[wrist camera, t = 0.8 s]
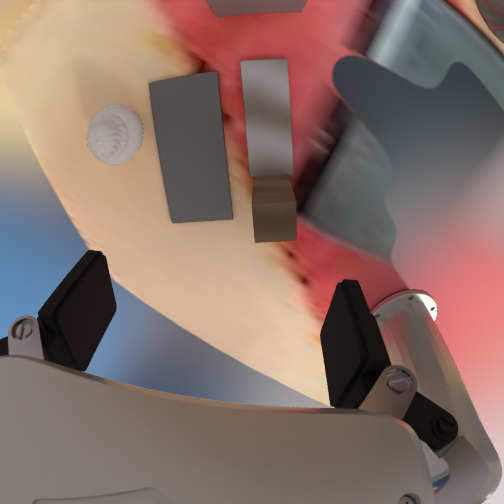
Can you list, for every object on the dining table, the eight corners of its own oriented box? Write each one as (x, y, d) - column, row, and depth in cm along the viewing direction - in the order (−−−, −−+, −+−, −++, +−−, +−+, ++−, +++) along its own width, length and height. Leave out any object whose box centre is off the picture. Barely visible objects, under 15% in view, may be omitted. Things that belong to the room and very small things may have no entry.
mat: (233, 217, 32) (232, 219, 32) (173, 221, 33) (172, 223, 33) (217, 71, 24) (216, 71, 24) (150, 83, 25) (148, 83, 24)
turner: (293, 204, 31) (301, 240, 25) (252, 206, 32) (249, 242, 25) (286, 59, 23) (295, 48, 16) (240, 61, 24) (232, 51, 17)
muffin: (103, 104, 26) (67, 113, 20) (154, 99, 26) (124, 104, 20) (107, 157, 29) (74, 177, 23) (155, 155, 29) (129, 174, 23)
